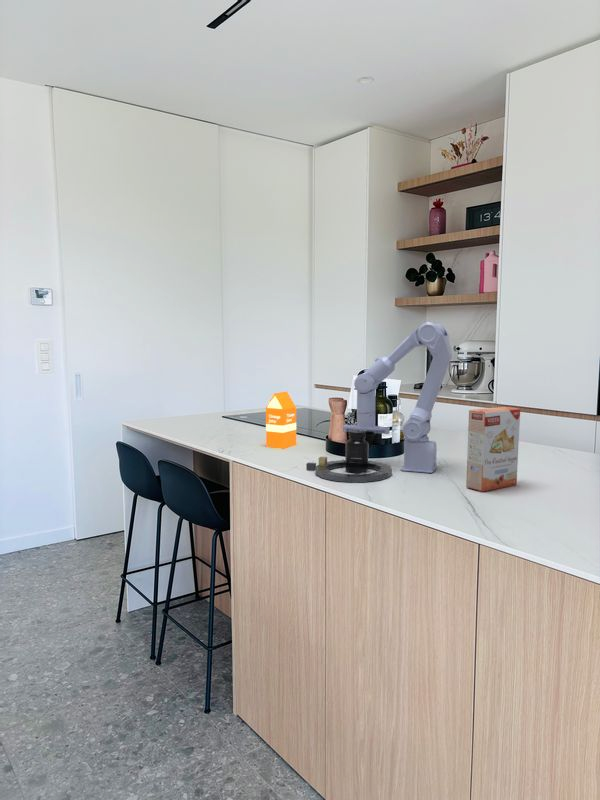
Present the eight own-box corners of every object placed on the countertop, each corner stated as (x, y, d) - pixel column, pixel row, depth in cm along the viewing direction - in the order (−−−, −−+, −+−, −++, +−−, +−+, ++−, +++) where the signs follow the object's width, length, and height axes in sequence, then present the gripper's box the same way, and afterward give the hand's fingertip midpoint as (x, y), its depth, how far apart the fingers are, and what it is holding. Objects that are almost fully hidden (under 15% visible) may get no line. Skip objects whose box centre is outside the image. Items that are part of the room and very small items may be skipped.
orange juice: (296, 445, 217) (296, 391, 214) (283, 449, 209) (282, 393, 207) (279, 443, 221) (278, 391, 219) (265, 447, 213) (265, 392, 211)
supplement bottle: (353, 474, 170) (353, 433, 168) (341, 470, 176) (341, 430, 174) (372, 472, 173) (373, 432, 171) (360, 467, 179) (360, 428, 177)
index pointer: (316, 469, 176) (316, 463, 176) (313, 470, 175) (313, 464, 175) (308, 468, 177) (308, 462, 177) (306, 470, 176) (306, 463, 176)
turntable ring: (398, 467, 177) (399, 455, 176) (380, 484, 157) (380, 470, 156) (330, 462, 185) (330, 450, 185) (304, 477, 165) (304, 464, 165)
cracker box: (483, 493, 149) (485, 411, 146) (465, 488, 154) (467, 409, 151) (518, 485, 156) (521, 407, 154) (500, 480, 161) (502, 405, 159)
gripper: (392, 411, 182) (391, 454, 183) (348, 410, 188) (347, 451, 189) (386, 414, 175) (386, 459, 177) (340, 412, 181) (340, 455, 182)
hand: (365, 455), depth 182 cm, fingers closed
